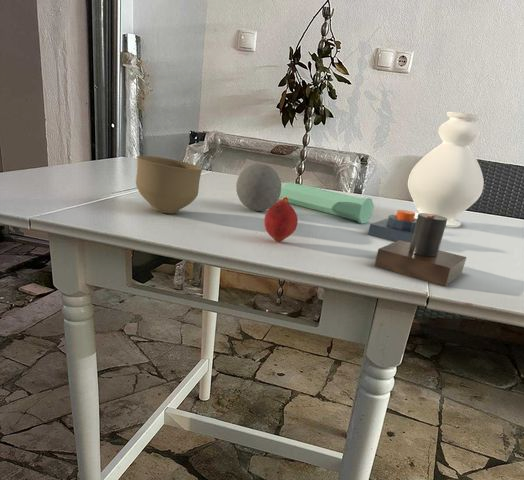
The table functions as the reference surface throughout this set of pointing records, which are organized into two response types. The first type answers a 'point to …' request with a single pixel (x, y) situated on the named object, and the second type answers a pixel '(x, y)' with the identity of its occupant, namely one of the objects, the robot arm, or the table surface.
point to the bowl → (167, 183)
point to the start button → (405, 215)
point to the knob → (427, 234)
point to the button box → (393, 229)
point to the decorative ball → (258, 187)
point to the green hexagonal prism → (328, 201)
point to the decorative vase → (449, 171)
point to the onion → (280, 220)
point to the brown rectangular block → (420, 263)
